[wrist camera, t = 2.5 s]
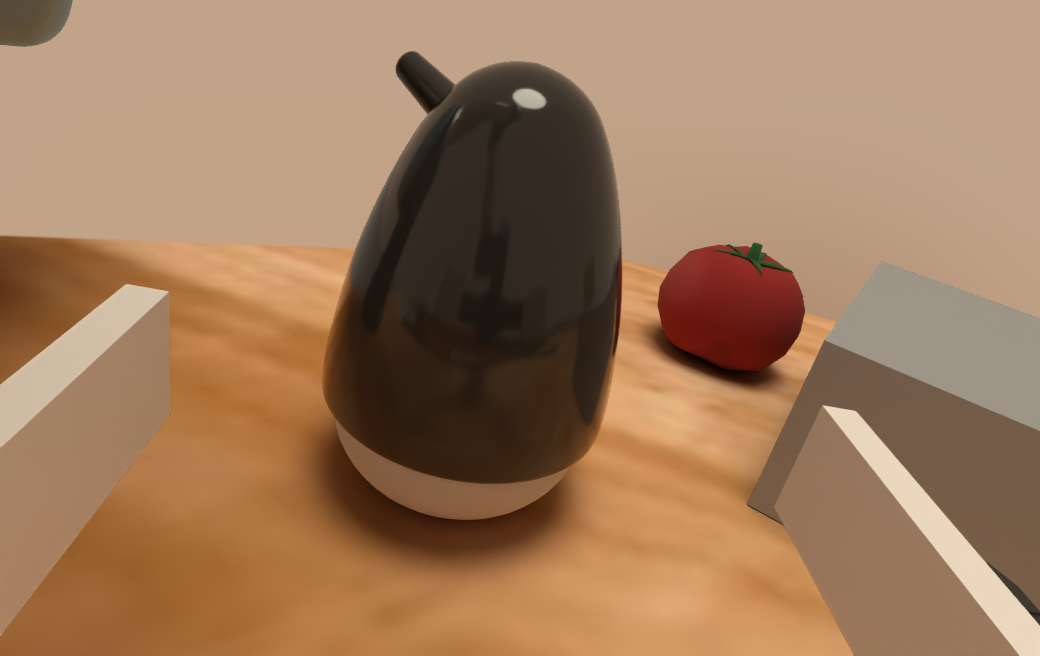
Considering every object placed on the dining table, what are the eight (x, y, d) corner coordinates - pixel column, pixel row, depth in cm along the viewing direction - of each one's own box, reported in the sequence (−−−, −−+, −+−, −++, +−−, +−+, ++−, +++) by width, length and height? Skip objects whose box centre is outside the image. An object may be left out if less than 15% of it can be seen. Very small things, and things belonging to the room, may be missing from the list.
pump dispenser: (436, 368, 33) (501, 36, 27) (620, 481, 29) (753, 111, 22) (250, 449, 25) (275, 4, 19) (461, 623, 21) (595, 111, 14)
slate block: (746, 504, 29) (824, 340, 26) (823, 382, 42) (881, 261, 38) (1214, 761, 22) (1406, 586, 19) (1135, 522, 35) (1241, 390, 32)
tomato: (711, 320, 47) (750, 220, 44) (804, 383, 41) (856, 274, 38) (621, 326, 43) (657, 216, 40) (710, 398, 37) (760, 276, 34)
